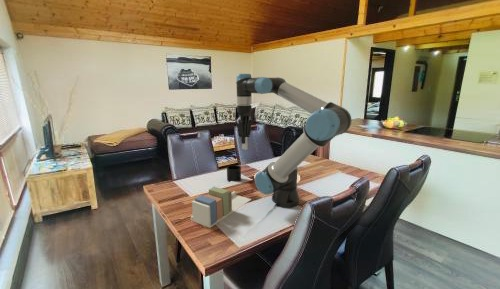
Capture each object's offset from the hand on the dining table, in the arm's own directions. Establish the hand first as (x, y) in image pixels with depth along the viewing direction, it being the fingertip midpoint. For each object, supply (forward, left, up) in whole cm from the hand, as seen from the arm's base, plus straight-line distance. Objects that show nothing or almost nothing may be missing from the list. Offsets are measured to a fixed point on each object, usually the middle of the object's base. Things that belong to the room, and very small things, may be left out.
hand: (244, 149), depth 136 cm
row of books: (+2, +17, -29) cm, 34 cm away
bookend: (+2, +17, -28) cm, 33 cm away
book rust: (+1, +25, -28) cm, 38 cm away
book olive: (+1, +21, -28) cm, 35 cm away
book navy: (+1, +30, -28) cm, 41 cm away
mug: (+22, -20, -30) cm, 42 cm away
